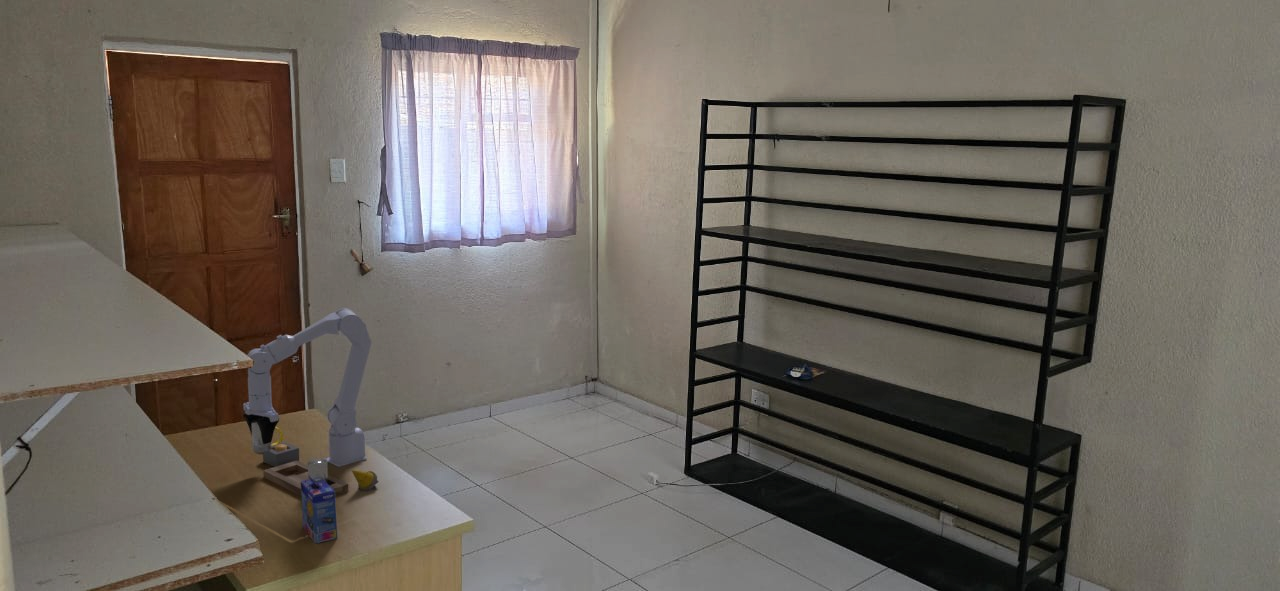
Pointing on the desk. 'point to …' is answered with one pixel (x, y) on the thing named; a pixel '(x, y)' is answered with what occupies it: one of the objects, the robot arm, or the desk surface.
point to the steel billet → (258, 439)
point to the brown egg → (280, 447)
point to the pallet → (298, 477)
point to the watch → (279, 438)
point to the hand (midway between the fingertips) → (261, 440)
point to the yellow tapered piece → (365, 479)
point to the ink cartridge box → (319, 510)
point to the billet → (318, 469)
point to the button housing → (281, 455)
